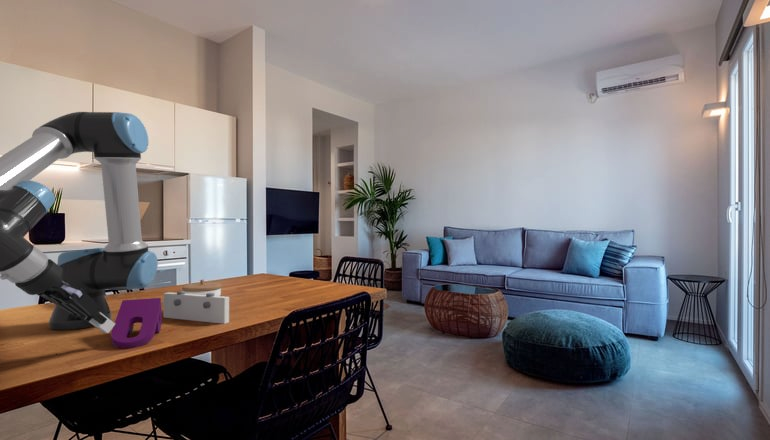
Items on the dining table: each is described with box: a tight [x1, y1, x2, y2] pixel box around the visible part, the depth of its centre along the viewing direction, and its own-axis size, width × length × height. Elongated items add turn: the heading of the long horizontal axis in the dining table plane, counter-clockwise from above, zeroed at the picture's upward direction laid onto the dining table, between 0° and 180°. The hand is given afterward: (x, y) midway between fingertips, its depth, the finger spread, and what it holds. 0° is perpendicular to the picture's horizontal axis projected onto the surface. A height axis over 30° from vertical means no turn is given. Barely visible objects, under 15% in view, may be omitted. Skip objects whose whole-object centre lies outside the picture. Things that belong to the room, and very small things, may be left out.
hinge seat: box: [162, 290, 230, 325], centre depth 123 cm, size 25×3×9 cm, turn 71°
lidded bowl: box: [181, 279, 222, 296], centre depth 136 cm, size 13×13×11 cm
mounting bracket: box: [110, 297, 163, 349], centre depth 104 cm, size 9×8×18 cm
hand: (109, 328), depth 97 cm, fingers closed
